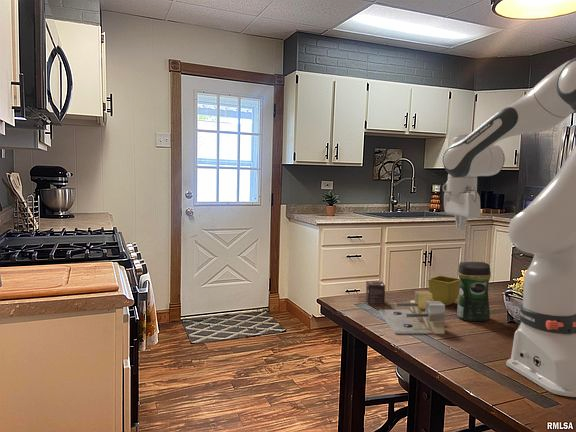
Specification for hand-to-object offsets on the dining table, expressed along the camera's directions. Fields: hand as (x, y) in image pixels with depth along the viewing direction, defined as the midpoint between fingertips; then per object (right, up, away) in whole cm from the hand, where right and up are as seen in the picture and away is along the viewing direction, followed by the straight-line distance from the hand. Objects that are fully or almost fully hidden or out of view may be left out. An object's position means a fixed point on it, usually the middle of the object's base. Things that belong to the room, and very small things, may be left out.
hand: (460, 229), depth 140 cm
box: (-24, -28, +18) cm, 41 cm away
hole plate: (-20, -29, -4) cm, 36 cm away
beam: (-15, -29, -2) cm, 33 cm away
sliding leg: (-15, -26, +1) cm, 30 cm away
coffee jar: (+4, -29, +1) cm, 30 cm away
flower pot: (+1, -28, +18) cm, 33 cm away
